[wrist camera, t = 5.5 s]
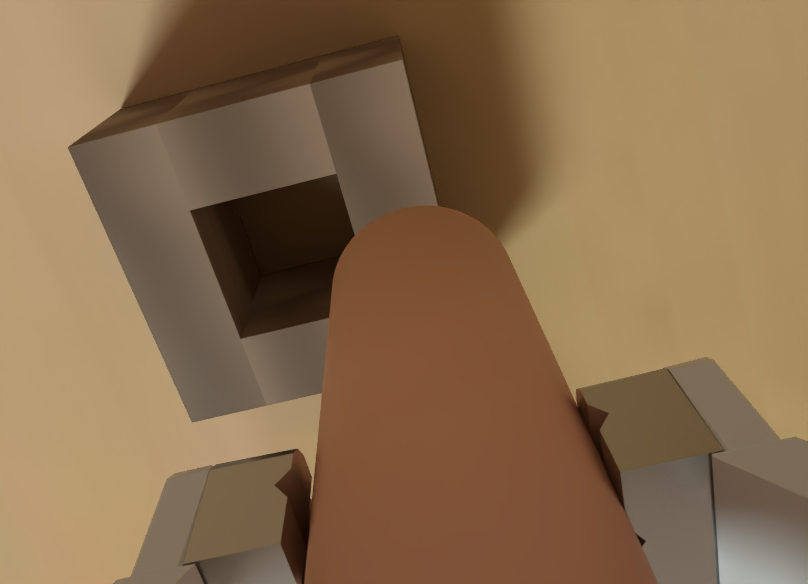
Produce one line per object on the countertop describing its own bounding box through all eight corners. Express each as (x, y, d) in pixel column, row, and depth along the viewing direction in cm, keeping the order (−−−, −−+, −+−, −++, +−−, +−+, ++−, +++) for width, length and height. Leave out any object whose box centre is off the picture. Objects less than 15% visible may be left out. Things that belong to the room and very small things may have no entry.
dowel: (499, 186, 13) (745, 635, 4) (526, 352, 14) (757, 930, 6) (310, 228, 13) (214, 739, 5) (356, 387, 14) (345, 1003, 6)
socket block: (398, 35, 26) (402, 59, 21) (460, 293, 30) (474, 357, 26) (120, 109, 27) (67, 147, 22) (219, 349, 31) (192, 422, 26)
